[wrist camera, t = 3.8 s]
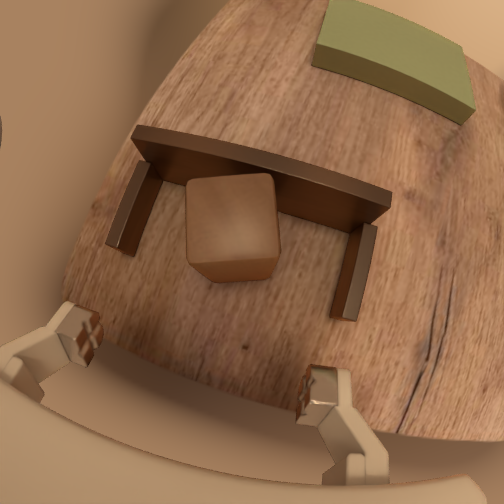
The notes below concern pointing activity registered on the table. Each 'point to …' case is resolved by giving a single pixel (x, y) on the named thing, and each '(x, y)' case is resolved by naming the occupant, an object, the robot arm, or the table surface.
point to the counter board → (395, 57)
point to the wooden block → (232, 227)
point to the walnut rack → (286, 188)
